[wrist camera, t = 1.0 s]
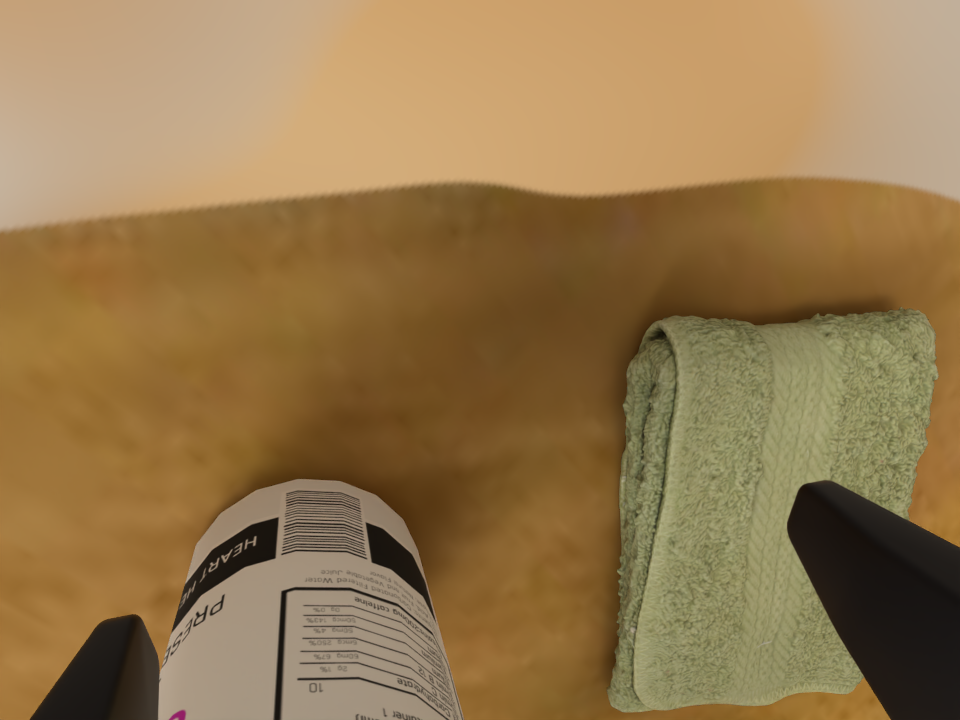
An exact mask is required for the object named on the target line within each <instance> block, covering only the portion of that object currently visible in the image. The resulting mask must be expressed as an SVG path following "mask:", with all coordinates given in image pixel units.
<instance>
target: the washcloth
mask: <svg viewBox="0 0 960 720" xmlns="http://www.w3.org/2000/svg"><path fill="white" fill-rule="evenodd" d="M928 320H929V319H927V317H926V315H925V314H923V313H921V312H920V310H916V311H915V310H913V309H910V308H909V309H906V310H905V309H903V308H902V307H900V309H899V310H896V311H894V310H889V311H888V312H880V311H877V312H876V311H875V312H871V313H864V314H859V315H858V314H857V313H854V314H851V313H849V314H847V316H838V315H834V314H826V315H825V316H820V314H818V313H817V314H816V315H814V316H813V317H812V318H811V319H804V320H801V321H799V322H797V323H783V324H779V323H778V324H766V325H763V326H762V325H753V324H751V323H750V322H746V321H737V320H735V319H731V320H728V319H727V318H725V319H722V320H718V319H716V318H710V319H708V320H706V319H704V318H701V317H695V316H687V317H681V316H678V315H677V316H671V317H669V318H664V319H663V320H659V321H656V322H654V323H653V324H652V325H651V326H650V327H649V328H648V329H647V331H646V333H645V335H644V337H643V340H642V343H641V345H640V347H639V351H638V355H636V356H635V357H634V358H633V359H632V360H631V361H630V364H629V367H628V369H627V373H626V376H627V385H628V386H627V395H626V399H625V401H624V404H623V409H624V413H625V416H626V418H627V419H626V426H627V428H626V430H625V435H626V448H625V450H624V452H623V455H622V459H621V475H620V489H619V508H620V520H621V544H622V551H621V556H620V557H619V558H620V562H621V568H619V569H618V570H617V572H618V573H619V574H620V575H621V578H620V579H619V580H618V583H619V584H620V587H619V588H620V590H619V591H618V595H619V596H621V599H620V603H621V605H620V610H619V613H618V616H619V618H618V620H617V623H618V624H619V625H620V626H619V629H618V630H617V634H618V637H620V638H619V645H618V646H617V647H616V649H615V654H616V664H615V665H614V666H615V667H614V668H613V670H612V672H613V677H612V680H611V682H610V686H608V687H607V693H608V698H609V701H610V704H611V706H612V707H614V708H616V709H617V710H619V711H621V712H644V711H651V710H654V709H655V710H672V709H677V708H681V707H687V706H692V705H703V704H732V705H741V706H760V705H769V704H773V703H774V702H776V701H778V700H780V699H782V698H784V697H786V696H789V695H792V694H795V693H803V692H828V693H835V694H848V693H850V692H852V691H853V690H854V689H855V687H856V685H857V684H859V683H860V682H861V680H862V679H863V678H864V676H863V674H862V673H861V671H860V669H859V668H858V666H857V665H856V663H855V662H854V660H853V658H852V657H851V655H850V654H849V652H848V650H847V649H846V647H845V645H844V644H843V642H842V640H841V639H840V637H839V635H838V634H837V632H836V630H835V628H834V626H833V624H832V623H831V621H830V619H829V617H828V615H827V613H826V611H825V609H824V607H823V605H822V603H821V601H820V599H819V597H818V595H817V593H816V591H815V589H814V587H813V585H812V583H811V581H810V579H809V577H808V575H807V573H806V571H805V569H804V567H803V565H802V563H801V561H800V559H799V557H798V555H797V553H796V551H795V549H794V547H793V545H792V543H791V541H790V539H789V536H788V532H787V521H788V518H789V515H790V512H791V509H792V506H793V504H794V501H795V498H796V495H797V492H798V490H799V488H800V487H801V486H802V485H804V484H806V483H811V482H816V481H821V480H830V481H833V482H836V483H838V484H840V485H841V486H843V487H845V488H847V489H849V490H851V491H853V492H855V493H857V494H859V495H860V496H862V497H864V498H866V499H868V500H870V501H872V502H874V503H876V504H878V505H880V506H881V507H883V508H885V509H887V510H889V511H891V512H893V513H895V514H897V515H899V516H900V517H902V518H904V519H906V520H908V521H909V516H908V515H909V513H908V512H907V510H908V508H909V506H910V505H911V503H912V498H911V494H912V492H913V485H914V483H915V478H916V476H917V473H916V471H915V467H916V466H917V462H918V460H919V458H920V456H921V455H922V454H923V453H924V450H925V448H926V446H927V445H928V441H927V438H926V432H925V428H927V427H928V426H929V424H930V421H931V420H930V419H929V417H930V404H931V402H932V399H931V398H932V394H933V389H934V380H937V378H938V377H939V376H938V371H937V367H936V365H935V360H936V356H935V353H936V352H935V339H936V334H935V330H934V329H933V328H932V327H931V325H930V323H929V322H928Z"/></svg>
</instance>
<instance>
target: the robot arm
mask: <svg viewBox="0 0 960 720" xmlns="http://www.w3.org/2000/svg"><path fill="white" fill-rule="evenodd" d="M787 532H788V536H789V539H790V541H791V543H792V545H793V547H794V549H795V551H796V553H797V555H798V557H799V559H800V561H801V563H802V565H803V567H804V569H805V571H806V573H807V575H808V577H809V579H810V581H811V583H812V585H813V587H814V589H815V591H816V593H817V595H818V597H819V599H820V601H821V603H822V605H823V607H824V609H825V611H826V613H827V615H828V617H829V619H830V621H831V623H832V624H833V626H834V628H835V630H836V632H837V634H838V635H839V637H840V639H841V640H842V642H843V644H844V645H845V647H846V649H847V650H848V652H849V654H850V655H851V657H852V658H853V660H854V662H855V663H856V665H857V666H858V668H859V669H860V671H861V673H862V674H863V676H864V677H865V679H866V681H867V682H868V684H869V685H870V687H871V689H872V690H873V692H874V693H875V695H876V696H877V698H878V700H879V701H880V703H881V704H882V706H883V708H884V709H885V711H886V712H887V714H888V716H889V717H890V719H891V720H960V548H959V547H958V546H956V545H954V544H952V543H950V542H948V541H946V540H944V539H942V538H940V537H938V536H937V535H935V534H933V533H931V532H929V531H927V530H925V529H923V528H921V527H919V526H918V525H916V524H914V523H912V522H910V521H908V520H906V519H904V518H902V517H900V516H899V515H897V514H895V513H893V512H891V511H889V510H887V509H885V508H883V507H881V506H880V505H878V504H876V503H874V502H872V501H870V500H868V499H866V498H864V497H862V496H860V495H859V494H857V493H855V492H853V491H851V490H849V489H847V488H845V487H843V486H841V485H840V484H838V483H836V482H833V481H830V480H821V481H816V482H811V483H806V484H804V485H802V486H801V487H800V488H799V490H798V492H797V495H796V498H795V501H794V504H793V506H792V509H791V512H790V515H789V518H788V521H787ZM158 705H159V660H158V655H157V652H156V650H155V647H154V645H153V643H152V641H151V638H150V636H149V634H148V632H147V629H146V627H145V625H144V623H143V621H142V619H141V618H140V617H139V616H138V615H136V614H134V615H133V614H132V615H127V616H121V617H116V618H111V619H107V620H104V621H102V622H101V623H100V624H99V625H98V626H97V627H96V628H95V629H94V631H93V632H92V633H91V635H90V636H89V638H88V639H87V640H86V642H85V643H84V645H83V646H82V647H81V649H80V650H79V652H78V653H77V654H76V656H75V657H74V659H73V660H72V661H71V663H70V664H69V665H68V667H67V668H66V670H65V671H64V672H63V674H62V675H61V677H60V678H59V679H58V681H57V682H56V684H55V685H54V686H53V688H52V689H51V691H50V692H49V693H48V695H47V696H46V697H45V699H44V700H43V702H42V703H41V704H40V706H39V707H38V709H37V710H36V711H35V713H34V714H33V716H32V717H31V718H30V720H158Z"/></svg>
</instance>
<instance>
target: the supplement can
mask: <svg viewBox="0 0 960 720" xmlns="http://www.w3.org/2000/svg"><path fill="white" fill-rule="evenodd" d="M158 720H464V718H463V714H462V710H461V707H460V703H459V699H458V696H457V692H456V688H455V685H454V681H453V677H452V674H451V670H450V666H449V663H448V659H447V655H446V652H445V648H444V644H443V641H442V637H441V633H440V630H439V626H438V622H437V619H436V615H435V611H434V608H433V604H432V600H431V597H430V593H429V589H428V586H427V582H426V578H425V575H424V571H423V567H422V564H421V560H420V556H419V553H418V549H417V547H416V545H415V543H414V541H413V539H412V537H411V535H410V532H409V530H408V528H407V526H406V524H405V522H404V520H403V519H402V518H401V517H400V516H399V515H398V514H397V513H396V512H395V511H393V510H392V509H391V508H390V507H389V506H388V505H387V504H386V503H385V502H383V501H382V500H381V499H380V498H379V497H378V496H377V495H375V494H372V493H370V492H367V491H364V490H362V489H359V488H357V487H354V486H352V485H349V484H347V483H344V482H341V481H331V480H310V479H296V480H292V481H288V482H285V483H281V484H277V485H273V486H270V487H266V488H262V489H258V490H256V491H254V492H252V493H251V494H249V495H248V496H246V497H245V498H243V499H242V500H240V501H239V502H237V503H235V504H234V505H232V506H231V507H229V508H228V509H226V510H225V511H223V512H221V513H220V515H219V516H218V517H217V518H216V520H215V521H214V522H213V524H212V525H211V526H210V527H209V529H208V530H207V531H206V533H205V534H204V535H203V537H202V538H201V539H200V540H199V542H198V543H197V544H196V547H195V551H194V554H193V558H192V561H191V565H190V568H189V572H188V576H187V579H186V583H185V586H184V590H183V593H182V597H181V600H180V604H179V608H178V611H177V615H176V618H175V622H174V625H173V629H172V633H171V636H170V640H169V643H168V647H167V650H166V654H165V658H164V661H163V665H162V668H161V672H160V675H159V705H158Z"/></svg>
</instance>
